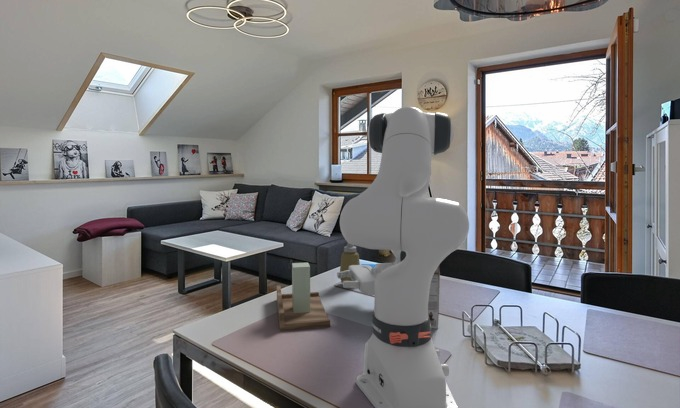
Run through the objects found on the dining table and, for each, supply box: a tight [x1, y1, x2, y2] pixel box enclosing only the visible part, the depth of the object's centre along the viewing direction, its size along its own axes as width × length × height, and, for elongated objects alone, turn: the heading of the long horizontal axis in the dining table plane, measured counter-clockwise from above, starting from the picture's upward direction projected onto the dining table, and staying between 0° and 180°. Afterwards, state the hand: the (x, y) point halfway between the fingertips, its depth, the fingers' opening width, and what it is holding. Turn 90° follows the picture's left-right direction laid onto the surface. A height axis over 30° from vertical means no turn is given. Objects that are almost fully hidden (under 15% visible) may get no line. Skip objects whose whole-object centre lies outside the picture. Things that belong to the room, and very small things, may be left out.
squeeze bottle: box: [339, 242, 361, 286], centre depth 149 cm, size 8×8×18 cm
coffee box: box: [428, 265, 441, 329], centre depth 115 cm, size 9×6×16 cm
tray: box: [276, 284, 331, 332], centre depth 123 cm, size 25×14×5 cm, turn 11°
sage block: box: [291, 262, 311, 313], centre depth 122 cm, size 5×5×14 cm
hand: (340, 279), depth 124 cm, fingers open, 8 cm apart
